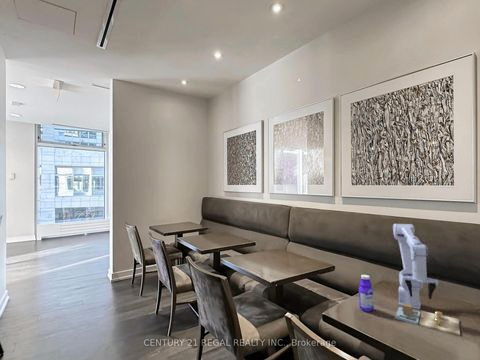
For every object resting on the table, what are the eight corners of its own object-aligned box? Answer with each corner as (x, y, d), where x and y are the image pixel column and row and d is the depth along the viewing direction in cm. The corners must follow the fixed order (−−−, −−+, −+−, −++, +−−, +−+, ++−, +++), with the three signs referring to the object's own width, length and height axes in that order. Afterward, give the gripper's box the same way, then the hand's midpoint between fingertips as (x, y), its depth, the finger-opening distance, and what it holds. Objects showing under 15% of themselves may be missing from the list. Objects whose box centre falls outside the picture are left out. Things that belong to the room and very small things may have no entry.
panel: (395, 318, 128) (394, 307, 128) (399, 308, 138) (398, 298, 138) (418, 324, 122) (417, 312, 122) (420, 313, 132) (419, 303, 133)
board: (419, 325, 121) (419, 323, 122) (421, 312, 134) (421, 310, 134) (459, 335, 113) (459, 334, 113) (458, 320, 125) (458, 319, 125)
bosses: (434, 325, 120) (434, 319, 120) (435, 315, 129) (434, 310, 129) (442, 327, 118) (441, 321, 118) (442, 317, 127) (442, 312, 127)
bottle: (366, 313, 134) (365, 278, 134) (357, 308, 139) (356, 275, 140) (376, 310, 137) (375, 276, 138) (366, 305, 142) (365, 273, 143)
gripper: (403, 269, 129) (404, 298, 129) (439, 273, 123) (440, 303, 123) (401, 266, 136) (402, 292, 135) (435, 269, 130) (436, 297, 129)
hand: (420, 297), depth 130 cm, fingers open, 7 cm apart
